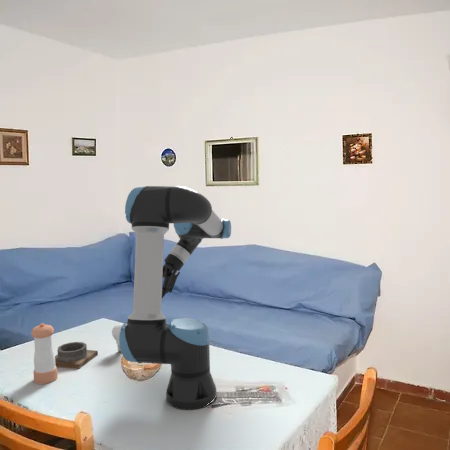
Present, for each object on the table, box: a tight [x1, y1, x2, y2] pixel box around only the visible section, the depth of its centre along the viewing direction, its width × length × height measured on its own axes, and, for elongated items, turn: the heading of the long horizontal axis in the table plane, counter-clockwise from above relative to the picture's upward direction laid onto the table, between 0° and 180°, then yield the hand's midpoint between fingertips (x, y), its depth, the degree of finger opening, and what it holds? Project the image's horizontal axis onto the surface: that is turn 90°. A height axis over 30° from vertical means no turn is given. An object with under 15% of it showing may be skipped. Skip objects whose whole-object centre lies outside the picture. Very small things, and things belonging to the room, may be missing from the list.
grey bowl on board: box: [55, 341, 99, 370], centre depth 167 cm, size 13×13×5 cm
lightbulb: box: [111, 323, 124, 353], centre depth 174 cm, size 6×6×11 cm
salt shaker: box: [30, 323, 58, 385], centre depth 151 cm, size 7×7×19 cm
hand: (145, 300), depth 179 cm, fingers open, 13 cm apart
